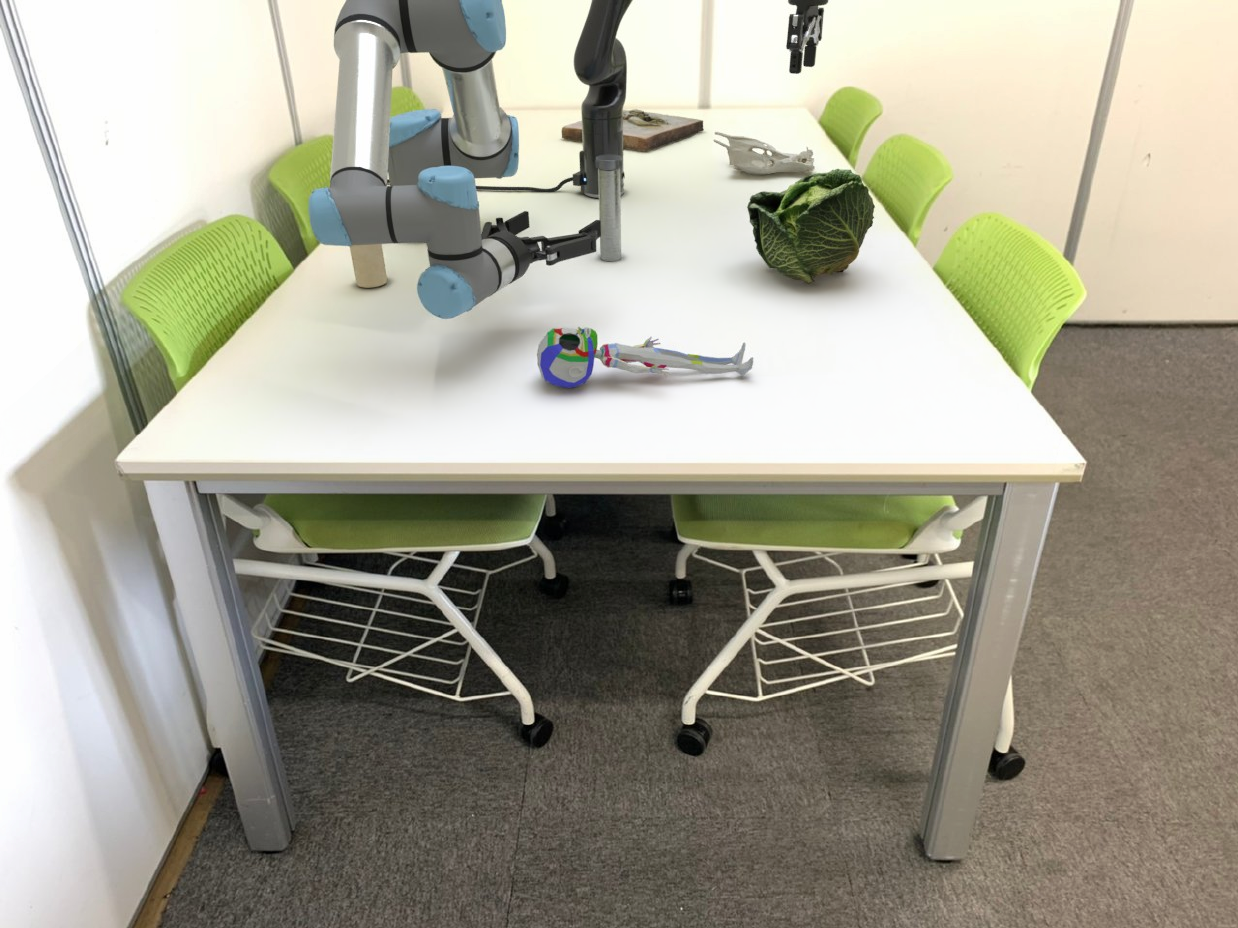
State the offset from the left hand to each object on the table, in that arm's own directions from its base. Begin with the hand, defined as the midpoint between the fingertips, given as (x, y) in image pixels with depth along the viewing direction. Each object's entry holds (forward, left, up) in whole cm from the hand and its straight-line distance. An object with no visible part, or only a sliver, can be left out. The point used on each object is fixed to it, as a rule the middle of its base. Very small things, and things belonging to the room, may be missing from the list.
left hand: (562, 223), depth 150 cm
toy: (+26, -25, -12) cm, 38 cm away
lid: (-1, +19, +6) cm, 20 cm away
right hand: (+24, +57, +17) cm, 64 cm away
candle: (-35, -10, -12) cm, 38 cm away
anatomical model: (+8, +90, -12) cm, 91 cm away
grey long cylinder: (-1, +19, -12) cm, 23 cm away
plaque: (-39, +116, -12) cm, 122 cm away
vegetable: (+36, +25, -12) cm, 46 cm away
